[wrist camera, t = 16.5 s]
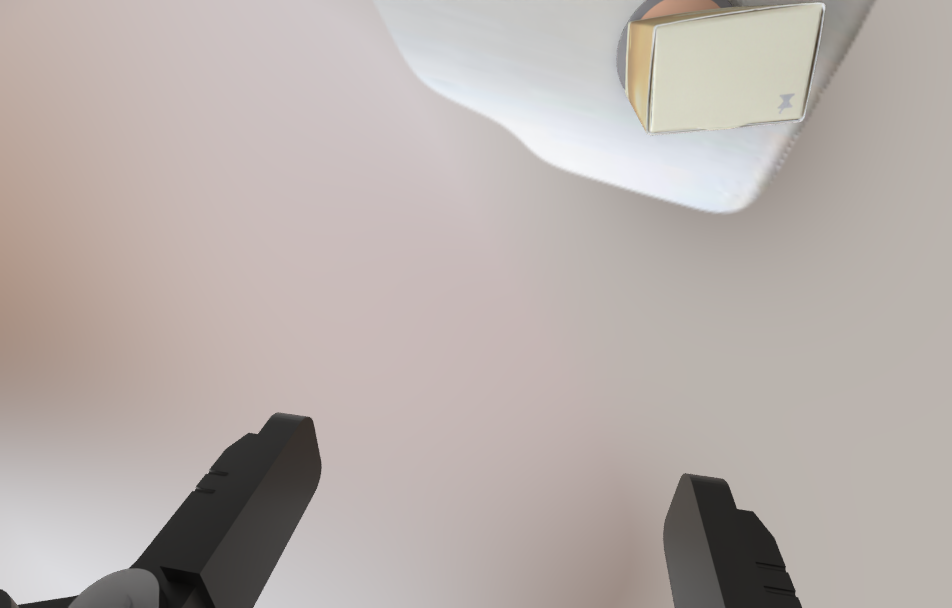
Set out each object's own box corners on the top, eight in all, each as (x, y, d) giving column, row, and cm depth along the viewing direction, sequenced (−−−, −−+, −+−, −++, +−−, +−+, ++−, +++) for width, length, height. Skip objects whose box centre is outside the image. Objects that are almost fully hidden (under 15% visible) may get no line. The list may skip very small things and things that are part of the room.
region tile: (607, 108, 32) (608, 110, 31) (628, -18, 29) (629, -19, 28) (717, 115, 31) (721, 117, 31) (752, -14, 28) (757, -15, 27)
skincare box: (738, 4, 28) (841, -5, 17) (728, 87, 30) (814, 123, 19) (621, 21, 29) (651, 21, 18) (619, 98, 31) (645, 138, 21)
